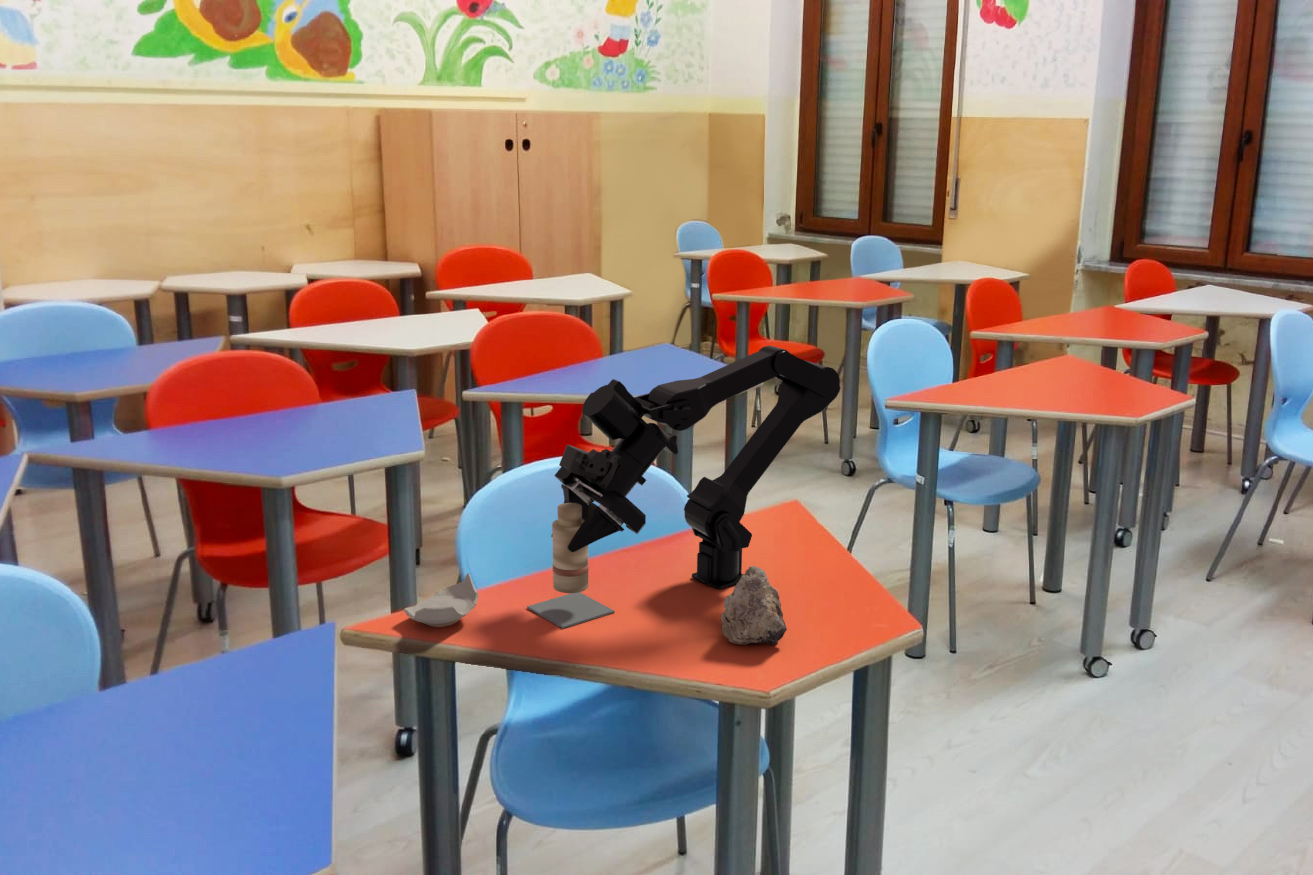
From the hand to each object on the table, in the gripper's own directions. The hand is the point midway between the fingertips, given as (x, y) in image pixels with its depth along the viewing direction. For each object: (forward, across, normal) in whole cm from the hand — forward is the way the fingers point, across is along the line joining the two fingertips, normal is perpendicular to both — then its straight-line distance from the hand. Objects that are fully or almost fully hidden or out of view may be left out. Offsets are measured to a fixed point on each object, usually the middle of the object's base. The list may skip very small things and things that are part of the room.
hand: (561, 544), depth 157 cm
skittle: (+4, 0, +6) cm, 7 cm away
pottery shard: (+19, -5, -4) cm, 20 cm away
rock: (-6, +20, +21) cm, 29 cm away
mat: (+6, 0, +8) cm, 10 cm away
